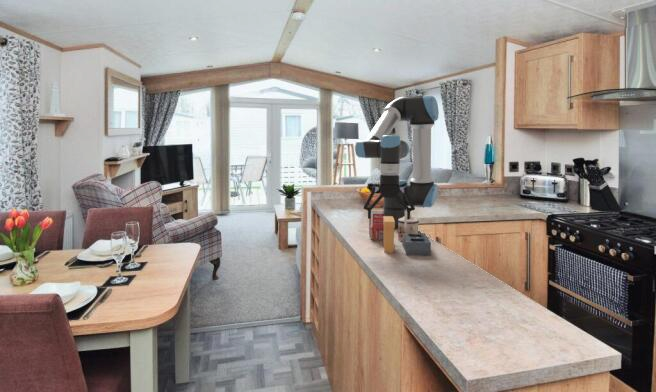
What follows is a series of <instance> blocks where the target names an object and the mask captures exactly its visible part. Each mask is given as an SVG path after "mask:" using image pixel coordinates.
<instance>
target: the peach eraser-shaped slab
mask: <svg viewBox="0 0 656 392" xmlns="http://www.w3.org/2000/svg"><path fill="white" fill-rule="evenodd" d="M383 224H384V231H383V239H382V241H383V242H382V243H383V245H382V246H383V252H384V253H389V254H390V253H394V250H395V248H394V247H395V229H396V228H395V221H394V218H393V216H383Z"/></svg>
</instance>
